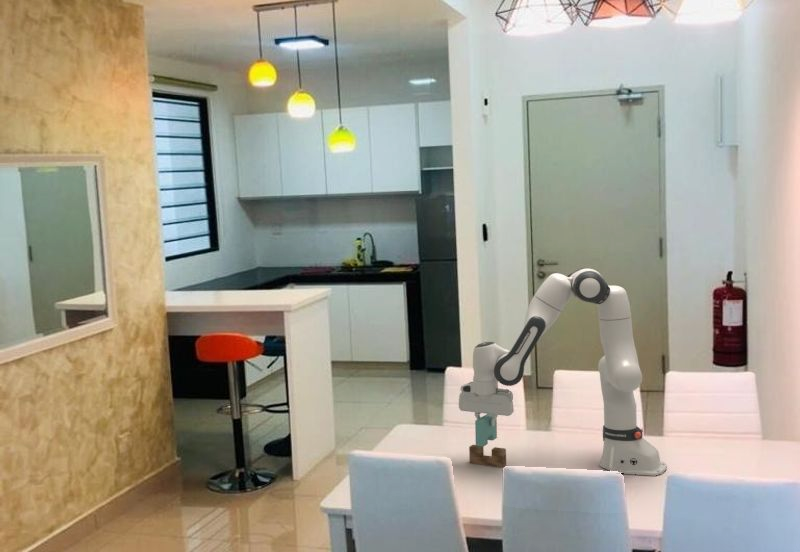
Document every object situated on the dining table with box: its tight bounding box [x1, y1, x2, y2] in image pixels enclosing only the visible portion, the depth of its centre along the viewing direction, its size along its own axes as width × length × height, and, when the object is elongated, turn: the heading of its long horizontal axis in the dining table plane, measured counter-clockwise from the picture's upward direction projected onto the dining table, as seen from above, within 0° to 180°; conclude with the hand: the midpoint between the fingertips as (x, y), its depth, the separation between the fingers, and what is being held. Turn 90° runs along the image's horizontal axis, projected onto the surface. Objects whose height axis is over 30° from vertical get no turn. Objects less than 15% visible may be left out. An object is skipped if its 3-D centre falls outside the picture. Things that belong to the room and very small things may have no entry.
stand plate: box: [468, 444, 507, 468], centre depth 308 cm, size 13×3×6 cm, turn 60°
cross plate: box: [474, 413, 498, 448], centre depth 307 cm, size 12×3×9 cm, turn 151°
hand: (486, 425), depth 307 cm, fingers closed on cross plate, 3 cm apart
